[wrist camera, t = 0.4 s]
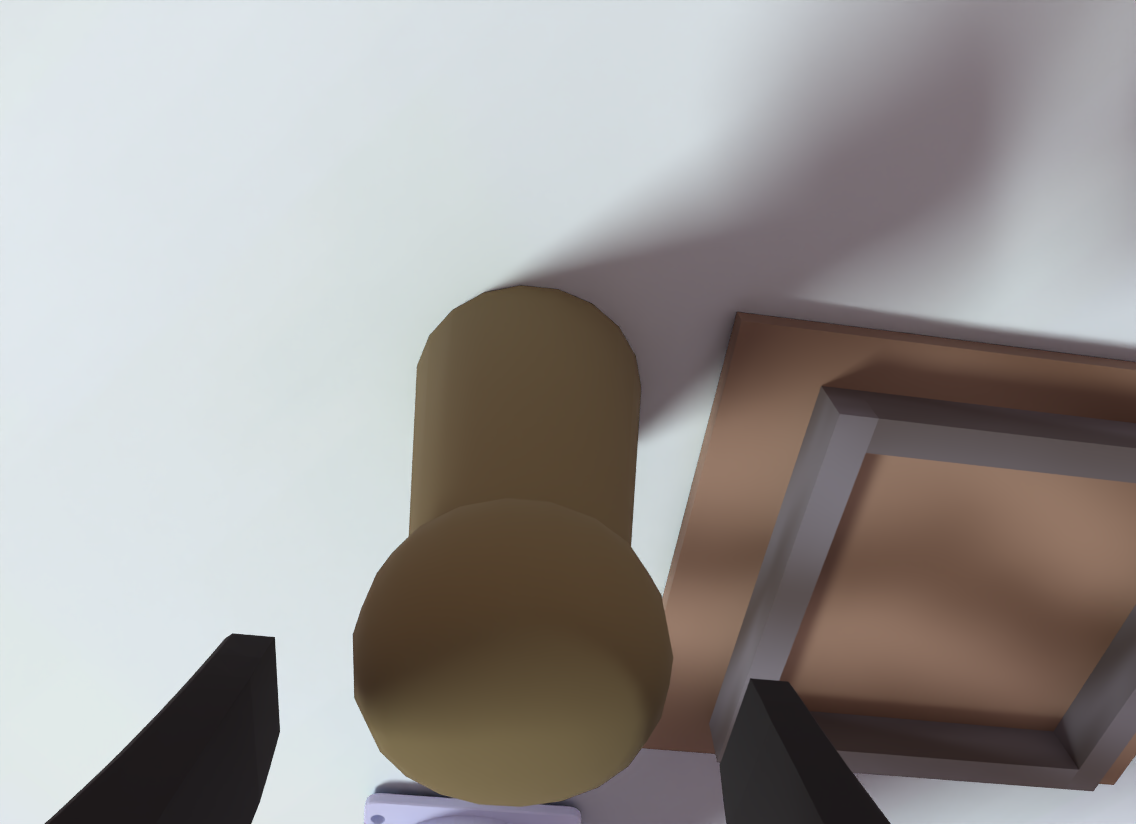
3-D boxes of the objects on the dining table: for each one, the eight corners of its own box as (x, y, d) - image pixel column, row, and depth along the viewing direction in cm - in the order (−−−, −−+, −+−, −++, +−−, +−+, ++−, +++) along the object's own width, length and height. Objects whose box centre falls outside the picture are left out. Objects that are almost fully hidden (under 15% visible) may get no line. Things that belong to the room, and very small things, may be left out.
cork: (375, 332, 20) (213, 658, 11) (597, 251, 19) (643, 528, 10) (470, 510, 23) (412, 897, 13) (668, 447, 22) (759, 814, 12)
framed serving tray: (1103, 770, 29) (1140, 823, 27) (627, 732, 28) (632, 786, 26) (1375, 392, 22) (1452, 431, 20) (736, 311, 20) (755, 345, 18)
